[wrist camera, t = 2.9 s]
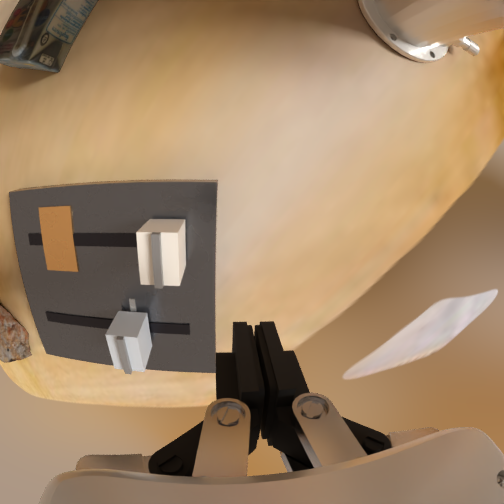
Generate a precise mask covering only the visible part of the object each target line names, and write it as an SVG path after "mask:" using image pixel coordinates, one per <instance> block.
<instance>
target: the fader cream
mask: <svg viewBox="0 0 504 504" xmlns="http://www.w3.org/2000/svg"><path fill="white" fill-rule="evenodd" d="M136 236H137V250H138V262H139V273H140V282H141V285H154V287H155V288H161V289H163V286H164V285H165V286H180V284H181V280H182V277H183V274H184V270H185V267H186V241H185V219H149V220H148V221H147V222H146V223H145V224H144V225H143V226H142V227H141V228H140V229H139V230H138V231H137V232H136Z"/></svg>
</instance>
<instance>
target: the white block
mask: <svg viewBox="0 0 504 504" xmlns="http://www.w3.org/2000/svg"><path fill="white" fill-rule="evenodd" d="M105 336H106V339H107V343H108V347H109V351H110V354H111V358H112V361H113V364H114V368H115V369H123V370H124V371H125V374H131V373H132V371H141V372H145V368H146V365H147V362H148V358H149V355H150V351H151V348H152V341H151V335H150V329H149V322H148V316H147V313H141V312H127V311H118V313H117V314H116V316H115V318H114V320H113V321H112V323H111V325H110V327H109V329H108V330H107V332H106V334H105Z"/></svg>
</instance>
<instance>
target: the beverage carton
mask: <svg viewBox="0 0 504 504" xmlns="http://www.w3.org/2000/svg"><path fill="white" fill-rule="evenodd" d="M97 1H98V0H20V1H19V2H18V4H17V6H16V7H15V9H14V11H13V12H12V14H11V16H10V18H9V20H8V22H7V24H6V25H5V27H4V29H3V31H2V33H1V35H0V63H1V64H4V65H7V66H10V67H17V68H29V69H37V70H44V71H50V72H59V71H60V69H61V67H62V65H63V62H64V60H65V58H66V56H67V54H68V52H69V50H70V48H71V46H72V44H73V42H74V40H75V39H76V37H77V35H78V33H79V31H80V30H81V28H82V26H83V24H84V23H85V21H86V19H87V17H88V16H89V14H90V12H91V11H92V9H93V8H94V6H95V5H96V3H97Z"/></svg>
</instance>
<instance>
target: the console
mask: <svg viewBox="0 0 504 504" xmlns="http://www.w3.org/2000/svg"><path fill="white" fill-rule="evenodd" d="M217 187H218V180H129V181H106V182H89V183H75V184H63V185H52V186H42V187H33V188H24V189H18V190H15V191H12V192H9V197H10V208H11V218H12V226H13V233H14V239H15V245H16V251H17V256H18V261H19V266H20V270H21V275H22V279H23V283H24V287H25V291H26V294H27V298H28V302H29V305H30V308H31V312H32V315H33V318H34V321H35V324H36V327H37V330H38V332H39V335H40V338H41V341H42V343H43V346H44V348H45V351H46V353H47V354H50V355H55V356H60V357H65V358H70V359H75V360H81V361H87V362H93V363H99V364H106V365H113V366H114V364H113V361H112V358H111V354H110V351H109V347H108V343H107V339H106V336H105V334H106V332H107V330H108V329H109V327H110V325H111V323H112V321H113V320H114V318H115V316H116V314H117V313H118V311H127V312H141V313H147V316H148V322H149V329H150V335H151V341H152V348H151V351H150V355H149V358H148V362H147V365H146V368H145V369H150V370H162V371H178V372H201V373H216V332H215V268H216V217H217ZM149 219H185V241H186V267H185V270H184V274H183V277H182V280H181V284H180V286H165V285H164V286H163V289H161V288H155V287H154V285H141V282H140V273H139V262H138V250H137V236H136V232H137V231H138V230H139V229H140V228H141V227H142V226H143V225H144V224H145V223H146V222H147V221H148V220H149Z"/></svg>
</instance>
